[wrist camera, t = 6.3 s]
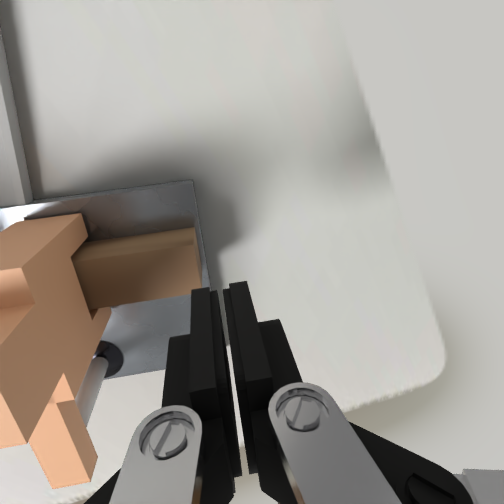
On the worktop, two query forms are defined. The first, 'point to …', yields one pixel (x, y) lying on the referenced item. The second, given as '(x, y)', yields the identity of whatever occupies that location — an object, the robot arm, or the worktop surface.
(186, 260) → the trammel bar
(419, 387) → the worktop surface
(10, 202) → the adjustable wrench
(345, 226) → the worktop surface
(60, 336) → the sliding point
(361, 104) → the worktop surface
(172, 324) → the flange plate
